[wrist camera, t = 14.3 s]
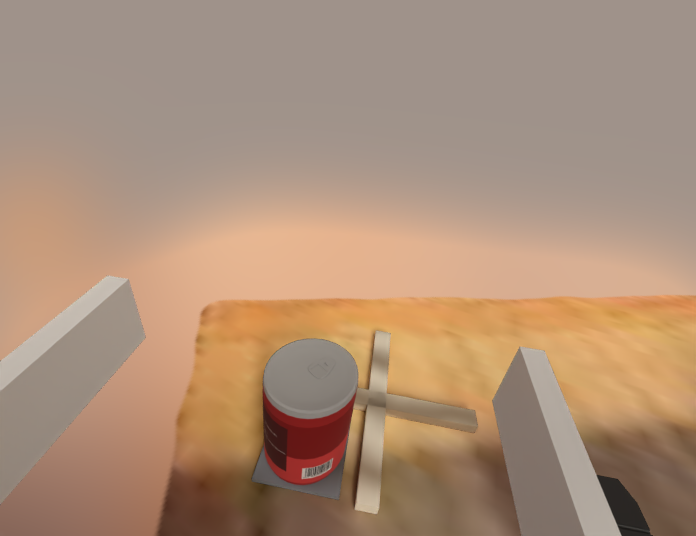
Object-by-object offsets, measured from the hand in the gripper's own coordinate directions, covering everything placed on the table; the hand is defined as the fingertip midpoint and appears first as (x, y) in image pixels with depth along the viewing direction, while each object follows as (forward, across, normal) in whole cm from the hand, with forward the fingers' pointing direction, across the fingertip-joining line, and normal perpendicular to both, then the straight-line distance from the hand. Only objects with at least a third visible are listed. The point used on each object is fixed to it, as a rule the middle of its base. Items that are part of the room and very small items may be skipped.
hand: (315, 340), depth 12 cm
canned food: (+11, -2, -26) cm, 28 cm away
